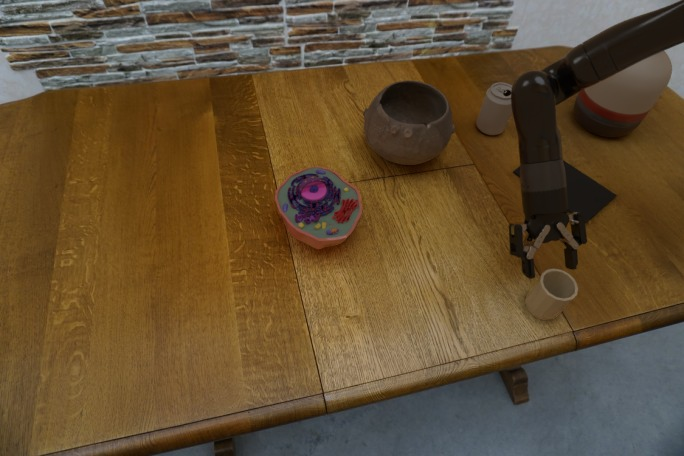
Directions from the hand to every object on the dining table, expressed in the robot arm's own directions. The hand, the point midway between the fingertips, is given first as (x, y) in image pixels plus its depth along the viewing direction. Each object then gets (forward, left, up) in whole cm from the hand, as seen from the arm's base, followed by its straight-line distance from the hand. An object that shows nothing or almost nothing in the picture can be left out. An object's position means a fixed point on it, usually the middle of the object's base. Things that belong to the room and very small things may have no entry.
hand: (550, 273), depth 85 cm
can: (+38, -32, -8) cm, 50 cm away
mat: (+14, -30, -8) cm, 34 cm away
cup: (-2, +1, -8) cm, 8 cm away
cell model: (+40, +23, -8) cm, 46 cm away
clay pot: (+46, -8, -8) cm, 47 cm away
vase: (+21, -58, -8) cm, 62 cm away
